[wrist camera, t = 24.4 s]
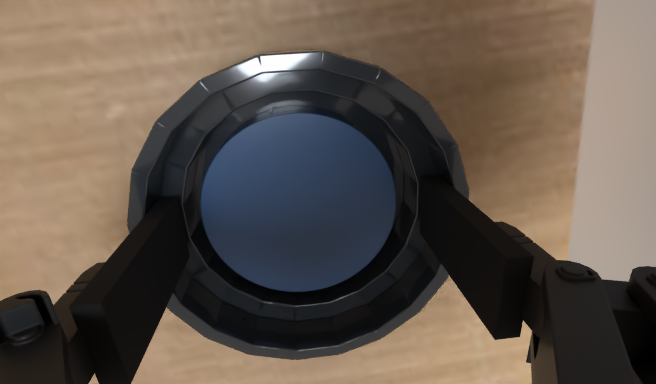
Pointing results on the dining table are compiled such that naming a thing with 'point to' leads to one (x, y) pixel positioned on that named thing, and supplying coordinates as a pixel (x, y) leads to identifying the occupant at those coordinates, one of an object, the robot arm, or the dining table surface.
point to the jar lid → (298, 199)
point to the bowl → (323, 304)
